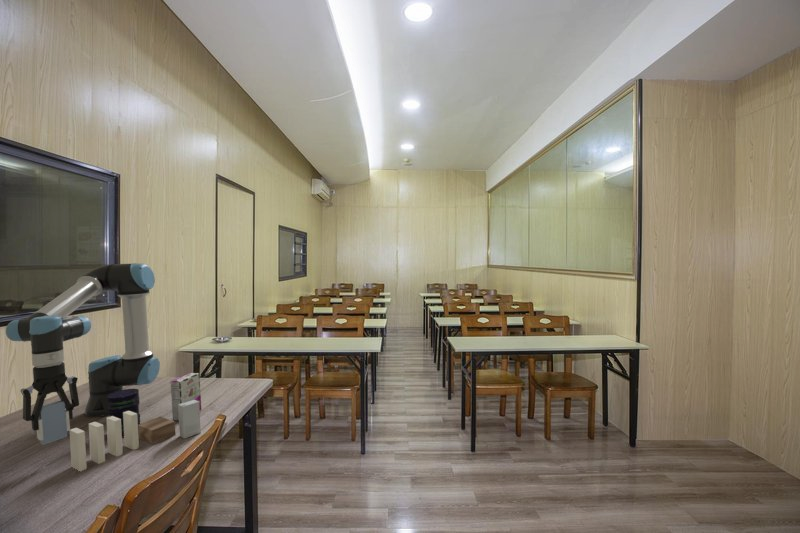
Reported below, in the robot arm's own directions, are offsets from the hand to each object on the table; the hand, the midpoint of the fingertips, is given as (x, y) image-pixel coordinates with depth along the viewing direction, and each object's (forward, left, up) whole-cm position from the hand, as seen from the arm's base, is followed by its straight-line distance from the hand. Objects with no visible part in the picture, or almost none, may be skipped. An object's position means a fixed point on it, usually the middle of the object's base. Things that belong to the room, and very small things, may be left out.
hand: (53, 434), depth 122 cm
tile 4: (+10, +18, -10) cm, 23 cm away
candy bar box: (+1, +43, -10) cm, 44 cm away
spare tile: (0, 0, -2) cm, 2 cm away
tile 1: (+10, +3, -10) cm, 14 cm away
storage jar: (-6, +23, -10) cm, 25 cm away
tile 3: (+10, +13, -10) cm, 19 cm away
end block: (+10, +26, -10) cm, 30 cm away
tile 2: (+10, +8, -10) cm, 16 cm away
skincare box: (+20, +33, -10) cm, 40 cm away
